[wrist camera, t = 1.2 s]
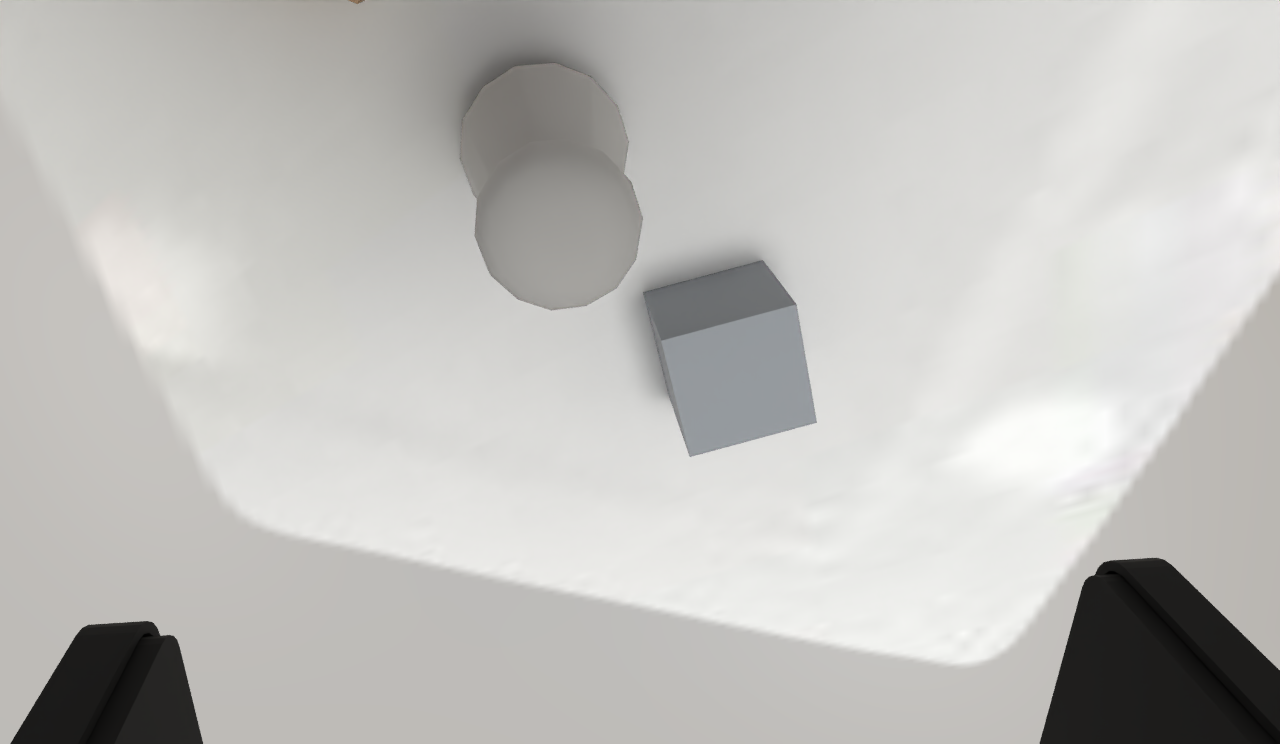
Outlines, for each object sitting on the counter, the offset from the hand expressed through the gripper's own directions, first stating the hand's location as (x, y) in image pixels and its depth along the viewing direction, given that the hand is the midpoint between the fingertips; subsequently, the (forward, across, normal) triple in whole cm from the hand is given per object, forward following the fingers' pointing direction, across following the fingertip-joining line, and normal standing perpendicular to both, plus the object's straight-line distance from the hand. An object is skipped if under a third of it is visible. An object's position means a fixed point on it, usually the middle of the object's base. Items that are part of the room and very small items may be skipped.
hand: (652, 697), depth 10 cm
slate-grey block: (+28, -7, +8) cm, 30 cm away
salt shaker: (+28, 0, 0) cm, 28 cm away
